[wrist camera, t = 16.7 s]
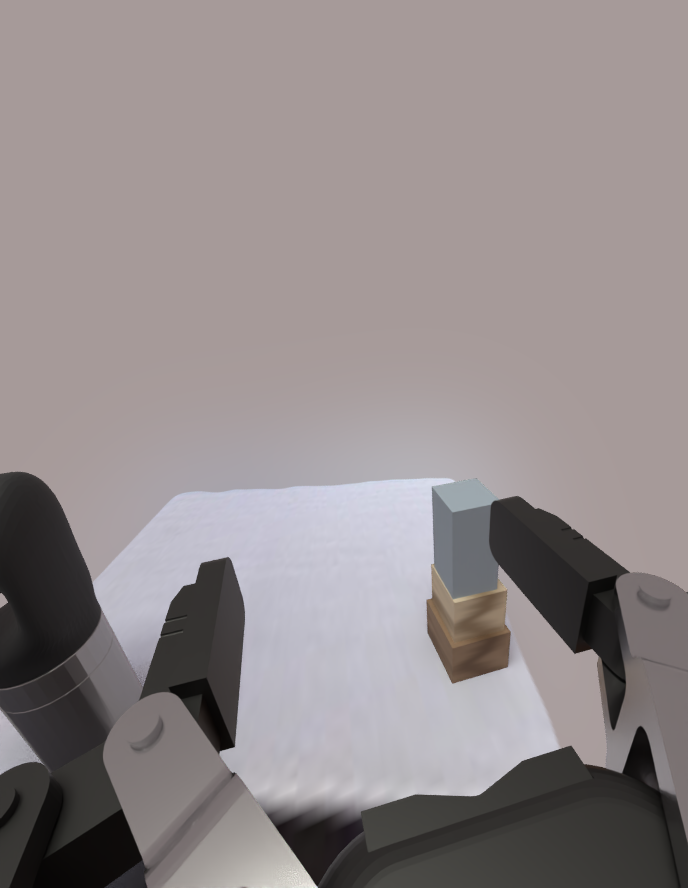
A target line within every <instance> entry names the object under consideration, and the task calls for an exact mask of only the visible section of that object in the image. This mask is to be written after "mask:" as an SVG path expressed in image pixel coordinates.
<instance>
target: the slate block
mask: <svg viewBox="0 0 688 888" xmlns="http://www.w3.org/2000/svg"><path fill="white" fill-rule="evenodd" d="M496 500H499V499H498V498H497V497H496V496H495V495H494V494H493V493H492V492H491V491H490V490H489V489H487V488H486V487H485V486H484V485H483V484H482V483H481V482H480V481H479V480H478V479H477V478H475V479H469V480H464V481H459V482H454V483H449V484H443V485H438V486H433V487H432V505H433V538H434V567H435V569H436V571H437V573H438V574H439V576H440V578H441V580H442V581H443V583H444V585H445V587H446V588H447V590H448V592H449V594H450V595H451V597H452V599H457V598H461V597H466V596H470V595H474V594H479V593H483V592H487V591H492V590H496V589H497V582H498V566H499V564H498V563H497V562H496V560H495V559H494V557H493V555H492V553H491V550H490V546H489V530H490V510H491V504H492V502H493V501H496Z"/></svg>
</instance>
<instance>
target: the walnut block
mask: <svg viewBox="0 0 688 888" xmlns="http://www.w3.org/2000/svg"><path fill="white" fill-rule="evenodd" d="M427 626H428V634H429V636H430V638H431V640H432V643H433V645H434V647H435V649H436V651H437V653H438V655H439V657H440V659H441V661H442V663H443V665H444V667H445V669H446V671H447V673H448V675H449V678H450V680H451V682H452V684H453V683H456V682H459V681H463V680H466V679H469V678H473V677H476V676H480V675H483V674H486V673H490V672H493V671H496V670H500V669H503V668H507V667H508V656H509V645H510V634H511V632H510V630H509V629H508V628H507V626H506V625H504V630H502V631H499V632H495V633H491V634H487V635H483V636H479V637H476V638H472V639H468V640H464V641H460V642H456V643H454V642H453V640H452V638H451V636H450V634H449V632H448V630H447V628H446V626H445V625H444V623H443V621H442V619H441V617H440V615H439V613H438V611H437V609H436V608H435V606H434V604H433V602H432V599H428V600H427Z"/></svg>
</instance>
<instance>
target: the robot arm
mask: <svg viewBox="0 0 688 888" xmlns="http://www.w3.org/2000/svg"><path fill="white" fill-rule="evenodd" d="M489 546H490V550H491V553H492V555H493V557H494V559H495V560H496V562H497V563H498V564H499V565H500V566H501V568H502V569H503V570H504V571H505V572H506V573H507V575H508V576H509V577H510V578H511V579H512V580H513V582H514V583H515V584H516V585H517V586H518V588H519V589H520V590H521V591H522V592H523V594H525V596H526V597H527V598H528V599H529V601H530V602H531V603H532V604H533V605H534V606H535V608H536V609H537V610H538V611H539V612H540V614H542V616H543V617H544V618H545V619H546V620H547V622H548V623H549V624H550V625H551V626H552V627H553V629H554V630H555V631H556V632H557V633H558V635H559V636H560V637H561V638H562V639H563V640H564V642H565V643H566V644H567V645H568V646H569V647H570V649H571V650H572V651H573V652H574V653H575V654H576V653H579V652H583V651H586V650H590V649H593V650H594V651H595V652H596V654H597V655H598V656H599V658H598V662H597V667H598V676H599V683H600V691H601V699H602V707H603V715H604V723H605V731H606V740H607V755H606V768H603V767H598V766H593V765H587V764H583V762H582V761H581V760H580V758H579V756H578V755H577V753H576V752H575V750H574V749H573V748H572V746H568V747H565V748H562V749H559V750H556V751H553V752H549V753H546V754H543V755H540V756H537V757H533V758H530V759H527V760H524V761H522V762H521V763H519V764H518V765H517V766H516V767H514V768H513V769H512V770H511V771H509V772H508V773H507V774H506V775H504V776H503V777H502V778H501V779H499V780H498V781H497V782H496V783H494V784H493V785H492V786H491V787H489V788H488V789H487V790H486V791H485V792H483V793H482V794H480V795H478V796H443V795H413V796H409V797H406V798H403V799H400V800H397V801H394V802H390V803H387V804H384V805H381V806H378V807H374V808H371V809H368V810H365V811H362V812H361V816H362V821H363V827H364V832H362V833H361V834H360V835H359V836H357V837H356V838H355V839H354V840H352V841H351V842H350V843H349V844H348V845H347V846H346V847H345V848H344V849H343V851H342V852H341V853H340V854H339V855H338V856H337V858H336V859H335V860H334V862H333V863H332V864H331V866H330V867H329V868H328V870H327V872H326V874H325V875H324V877H323V879H322V880H321V882H320V884H319V885H318V887H317V886H316V885H315V883H314V882H313V880H312V879H311V877H310V876H309V875H308V873H307V872H306V870H305V869H304V868H303V866H302V865H301V863H300V862H299V860H298V859H297V858H296V856H295V855H294V853H293V852H292V850H291V849H290V848H289V846H288V845H287V843H286V842H285V841H284V839H283V838H282V836H281V835H280V833H279V832H278V831H277V829H276V828H275V826H274V825H273V824H272V822H271V821H270V819H269V818H268V816H267V815H266V814H265V812H264V811H263V809H262V808H261V806H260V805H259V804H258V802H257V801H256V799H255V798H254V797H253V795H252V794H251V792H250V791H249V789H248V788H247V787H246V785H245V784H244V782H243V781H242V780H241V779H240V777H239V776H238V775H237V774H236V773H235V772H234V773H232V772H231V771H230V770H229V769H228V767H227V766H226V764H225V763H224V761H223V760H222V759H221V757H220V756H219V753H220V751H222V750H226V749H229V748H233V747H235V738H236V725H237V713H238V700H239V687H240V675H241V662H242V650H243V637H244V624H245V609H244V602H243V597H242V594H241V591H240V587H239V584H238V581H237V577H236V574H235V571H234V568H233V564H232V561H231V559H230V558H229V557H227V558H222V559H218V560H213V561H208V562H204V563H201V565H200V568H199V572H198V575H197V579H196V583H195V584H191V585H186V586H183V587H182V589H181V590H180V591H179V593H178V594H177V595H176V596H175V598H174V599H173V600H172V602H171V604H170V607H169V610H168V613H167V616H166V619H165V621H166V622H165V623H164V625H163V628H162V631H161V634H160V635H161V638H159V641H158V644H157V647H156V650H155V653H154V656H153V659H152V662H151V665H150V668H149V671H148V674H147V677H146V681H145V684H144V687H142V685H141V683H140V681H139V680H138V678H137V676H136V674H135V672H134V670H133V668H132V666H131V664H130V662H129V660H128V658H127V656H126V655H125V653H124V651H123V649H122V647H121V645H120V643H119V641H118V639H117V637H116V635H115V633H114V632H113V630H112V628H111V626H110V624H109V622H108V620H107V619H106V617H105V615H104V613H103V611H102V609H101V607H100V605H99V603H98V601H97V599H96V597H95V593H94V588H93V584H92V580H91V576H90V573H89V570H88V568H87V565H86V563H85V561H84V559H83V556H82V554H81V552H80V550H79V547H78V545H77V543H76V541H75V538H74V535H73V533H72V530H71V528H70V526H69V523H68V520H67V518H66V516H65V514H64V511H63V509H62V507H61V505H60V503H59V501H58V500H57V498H56V496H55V495H54V493H53V492H52V491H51V489H50V488H49V487H48V486H47V485H46V484H45V483H44V482H43V481H42V480H40V479H39V478H37V477H36V476H34V475H32V474H29V473H25V472H10V473H4V474H0V593H2V594H3V595H4V596H5V598H6V599H7V601H8V603H7V604H6V605H4V606H3V607H1V608H0V710H1V711H2V712H3V714H4V715H5V716H6V717H7V719H8V720H9V721H10V722H11V724H12V725H13V726H14V727H15V729H16V730H17V731H18V733H19V734H20V735H21V736H22V738H23V739H24V740H25V741H26V743H27V744H28V745H29V746H30V748H31V749H32V750H33V752H34V753H35V754H36V755H37V757H38V758H39V759H40V760H41V762H42V763H43V764H44V765H45V766H44V765H43V764H41V763H37V762H29V763H25V764H21V765H19V766H16V767H14V768H12V769H10V770H8V771H6V772H4V773H3V774H1V775H0V888H104V887H105V886H107V885H108V884H110V883H111V882H112V881H114V880H115V879H117V878H118V877H119V876H121V875H122V874H124V873H125V872H126V871H128V870H129V869H130V868H132V867H133V866H135V865H136V864H137V863H139V862H140V861H142V860H143V861H144V864H145V868H146V870H145V871H144V876H145V880H146V884H147V887H148V888H688V592H685V591H684V590H683V589H681V588H680V587H679V586H677V585H675V584H674V583H672V582H670V581H668V580H665V579H663V578H660V577H658V576H655V575H650V574H645V573H630V572H629V571H627V570H626V569H625V568H624V567H622V566H621V565H620V564H618V563H617V562H616V561H614V560H613V559H612V558H611V557H609V556H608V555H607V554H605V553H604V552H603V551H602V550H600V549H599V548H597V547H596V546H595V545H594V544H592V543H591V542H590V541H589V540H587V539H584V538H583V536H582V535H581V534H579V533H578V532H577V531H576V530H572V529H571V527H570V526H569V525H568V524H566V523H565V522H564V521H562V520H561V519H560V518H559V517H557V516H555V515H553V514H551V513H548V512H546V511H544V510H542V509H539V508H538V509H534V508H533V507H532V506H531V505H530V504H529V503H527V502H526V501H525V500H524V499H522V498H521V497H519V496H515V497H510V498H505V499H501V500H496V501H493V502H492V504H491V510H490V530H489Z"/></svg>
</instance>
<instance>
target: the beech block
mask: <svg viewBox="0 0 688 888" xmlns="http://www.w3.org/2000/svg"><path fill="white" fill-rule="evenodd" d="M431 569H432V602H433V604H434V606H435V608H436V609H437V611H438V613H439V615H440V617H441V619H442V621H443V623H444V625H445V626H446V628H447V630H448V632H449V634H450V636H451V638H452V640H453V642H454V643H456V642H460V641H464V640H468V639H472V638H476V637H479V636H483V635H487V634H491V633H495V632H499V631H502V630H504V625H505V613H506V600H507V589H506V588H505V587H504V585H503V584H502V583H501V582H500V580H499V579H498V582H497V589H496V590H492V591H487V592H483V593H479V594H474V595H470V596H466V597H461V598H457V599H452V597H451V595H450V594H449V592H448V590H447V588H446V587H445V585H444V583H443V581H442V580H441V578H440V576H439V574H438V573H437V571H436V569H435V567H434V564H431Z"/></svg>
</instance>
